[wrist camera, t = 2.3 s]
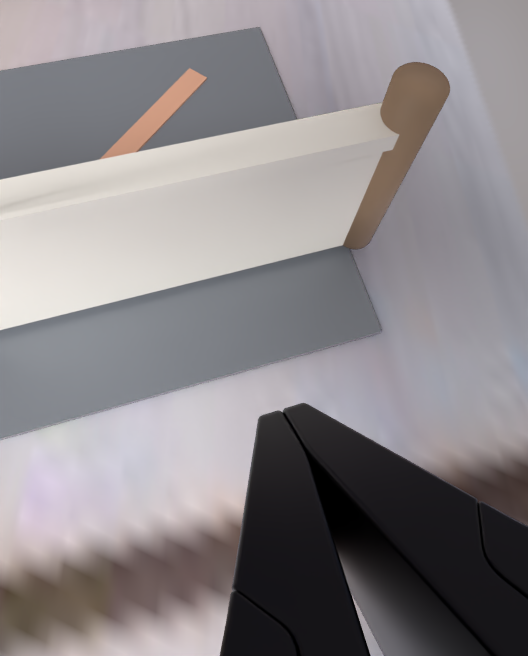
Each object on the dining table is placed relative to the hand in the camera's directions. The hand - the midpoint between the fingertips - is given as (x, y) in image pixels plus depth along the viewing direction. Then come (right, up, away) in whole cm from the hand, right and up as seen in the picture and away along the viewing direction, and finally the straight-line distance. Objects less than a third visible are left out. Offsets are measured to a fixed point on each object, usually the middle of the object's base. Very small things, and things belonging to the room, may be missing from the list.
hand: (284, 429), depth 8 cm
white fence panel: (-4, +4, +13) cm, 14 cm away
